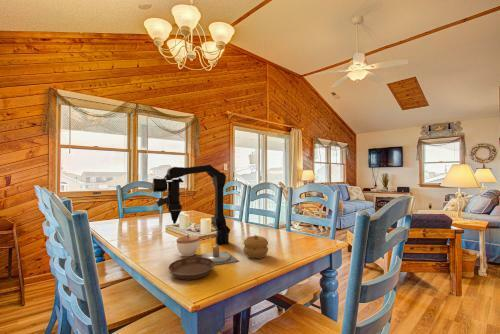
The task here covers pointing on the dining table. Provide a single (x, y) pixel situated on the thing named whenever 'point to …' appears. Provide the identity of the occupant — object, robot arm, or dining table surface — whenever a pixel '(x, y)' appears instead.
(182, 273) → the plant saucer
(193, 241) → the lidded jar
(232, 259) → the mat
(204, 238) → the dining table surface
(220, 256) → the lid
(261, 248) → the pot
